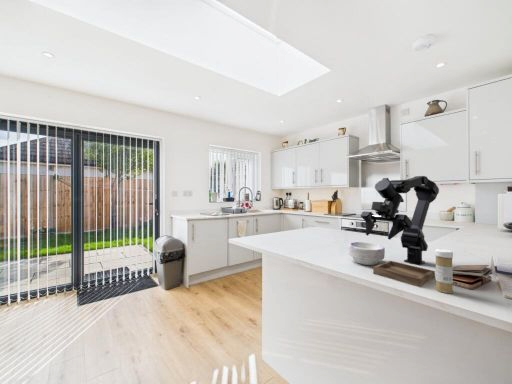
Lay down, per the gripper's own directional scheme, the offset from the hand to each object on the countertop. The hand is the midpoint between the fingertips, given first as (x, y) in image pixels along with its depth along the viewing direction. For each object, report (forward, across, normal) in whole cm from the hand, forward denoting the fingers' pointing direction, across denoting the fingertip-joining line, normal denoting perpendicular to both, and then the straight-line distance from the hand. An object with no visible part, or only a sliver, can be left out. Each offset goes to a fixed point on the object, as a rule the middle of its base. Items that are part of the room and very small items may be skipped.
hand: (377, 236), depth 93 cm
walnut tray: (+8, +7, +13) cm, 17 cm away
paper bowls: (+6, -12, +16) cm, 21 cm away
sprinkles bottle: (+10, +21, +11) cm, 26 cm away
